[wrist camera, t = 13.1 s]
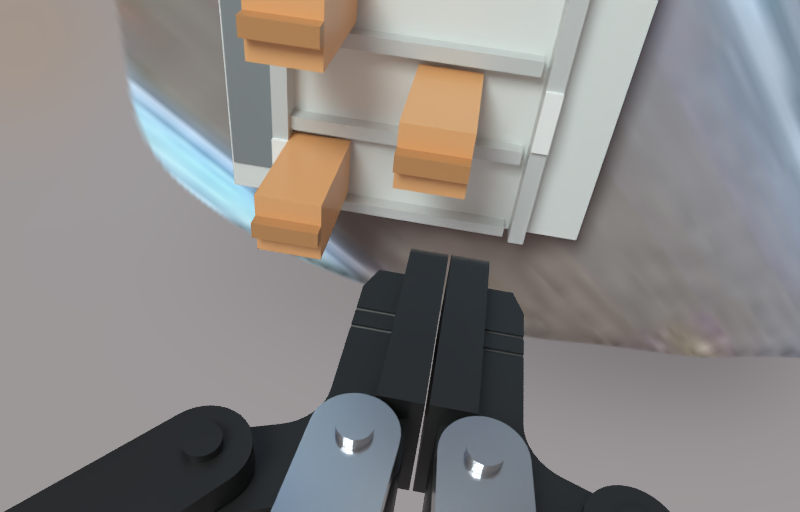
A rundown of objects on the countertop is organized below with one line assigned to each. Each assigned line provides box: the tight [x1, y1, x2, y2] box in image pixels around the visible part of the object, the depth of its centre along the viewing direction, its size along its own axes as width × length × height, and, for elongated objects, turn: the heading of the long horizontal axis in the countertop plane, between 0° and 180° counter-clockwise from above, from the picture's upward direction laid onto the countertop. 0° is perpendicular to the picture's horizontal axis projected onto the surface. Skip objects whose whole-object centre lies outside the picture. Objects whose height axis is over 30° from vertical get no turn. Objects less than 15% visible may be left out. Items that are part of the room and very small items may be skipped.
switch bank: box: [219, 0, 658, 245], centre depth 30 cm, size 19×14×3 cm
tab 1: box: [236, 0, 358, 73], centre depth 24 cm, size 3×3×7 cm
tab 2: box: [251, 132, 351, 259], centre depth 30 cm, size 3×3×7 cm
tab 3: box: [393, 64, 484, 199], centre depth 27 cm, size 3×3×7 cm
